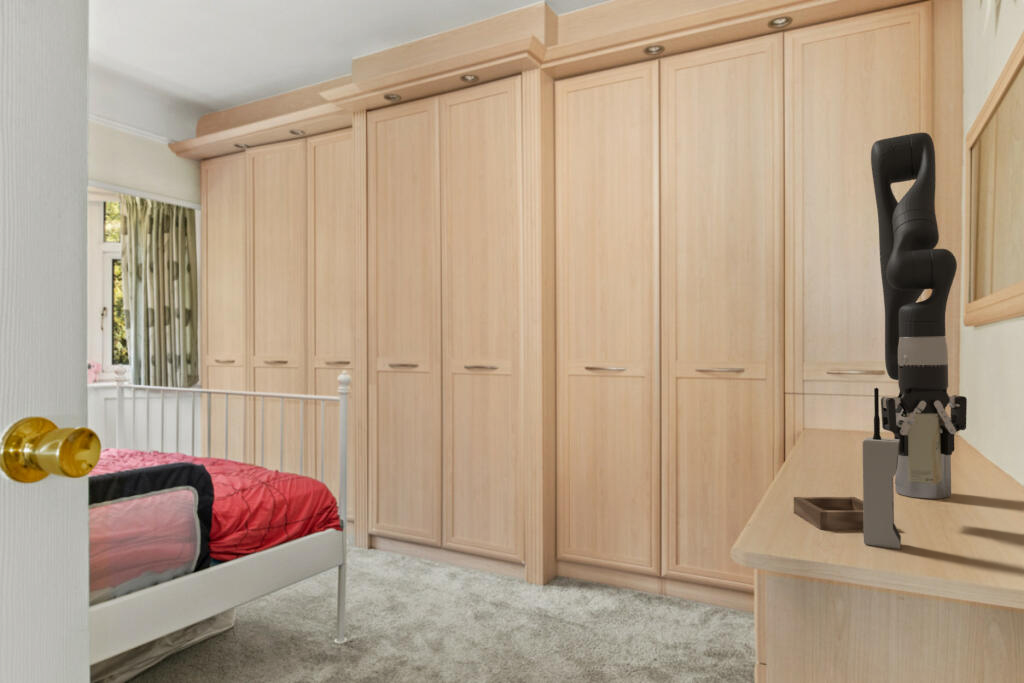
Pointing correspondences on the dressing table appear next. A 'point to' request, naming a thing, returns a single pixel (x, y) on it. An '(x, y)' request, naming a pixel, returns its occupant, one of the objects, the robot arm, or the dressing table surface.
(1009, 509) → the dressing table surface
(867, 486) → the vintage mobile phone
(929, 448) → the skincare box
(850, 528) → the walnut holder
